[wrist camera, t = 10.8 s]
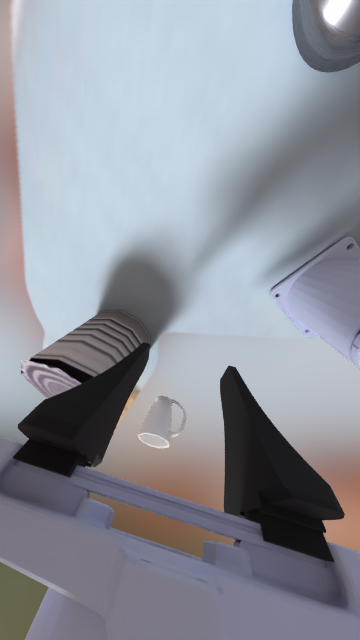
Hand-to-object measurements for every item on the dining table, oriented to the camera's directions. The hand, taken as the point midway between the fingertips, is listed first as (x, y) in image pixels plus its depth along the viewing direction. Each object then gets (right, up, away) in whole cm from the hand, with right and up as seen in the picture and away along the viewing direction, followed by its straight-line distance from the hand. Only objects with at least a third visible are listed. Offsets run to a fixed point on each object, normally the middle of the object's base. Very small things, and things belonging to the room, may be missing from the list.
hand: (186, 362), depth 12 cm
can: (-11, +1, +13) cm, 17 cm away
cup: (-3, -16, +22) cm, 27 cm away
